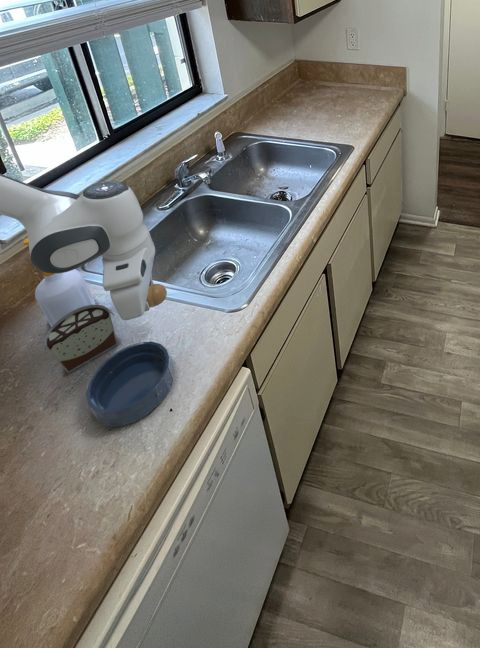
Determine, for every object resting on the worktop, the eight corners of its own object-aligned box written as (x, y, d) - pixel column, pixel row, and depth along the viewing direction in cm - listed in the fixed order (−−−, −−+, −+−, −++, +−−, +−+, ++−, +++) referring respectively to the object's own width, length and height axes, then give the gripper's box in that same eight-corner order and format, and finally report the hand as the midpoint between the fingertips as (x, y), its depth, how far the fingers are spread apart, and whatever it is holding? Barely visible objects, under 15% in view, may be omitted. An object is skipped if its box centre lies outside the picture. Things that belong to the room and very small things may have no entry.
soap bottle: (53, 338, 99) (8, 257, 89) (49, 313, 105) (7, 234, 95) (99, 315, 104) (62, 236, 94) (92, 293, 111) (57, 216, 100)
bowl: (86, 440, 80) (77, 425, 78) (103, 370, 92) (96, 355, 90) (171, 410, 85) (165, 395, 83) (177, 347, 97) (171, 332, 94)
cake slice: (117, 323, 103) (104, 292, 98) (125, 340, 99) (111, 309, 94) (54, 358, 95) (36, 327, 90) (59, 378, 91) (41, 346, 87)
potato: (128, 318, 93) (122, 303, 91) (132, 301, 97) (126, 287, 95) (168, 307, 96) (162, 292, 94) (170, 291, 100) (164, 276, 98)
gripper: (121, 223, 97) (138, 269, 103) (100, 292, 80) (122, 342, 86) (152, 216, 99) (168, 261, 105) (138, 282, 82) (158, 331, 88)
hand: (147, 298), depth 96 cm, fingers closed on potato, 4 cm apart
